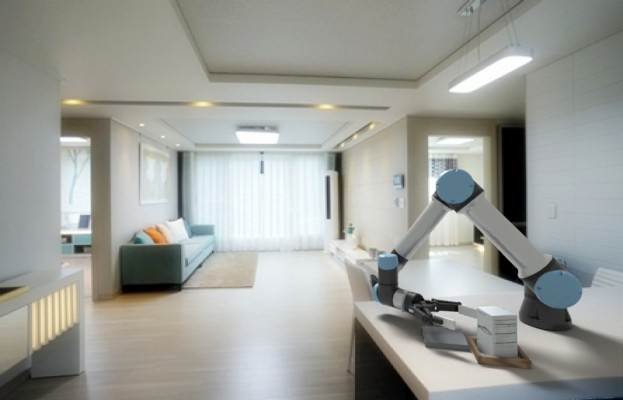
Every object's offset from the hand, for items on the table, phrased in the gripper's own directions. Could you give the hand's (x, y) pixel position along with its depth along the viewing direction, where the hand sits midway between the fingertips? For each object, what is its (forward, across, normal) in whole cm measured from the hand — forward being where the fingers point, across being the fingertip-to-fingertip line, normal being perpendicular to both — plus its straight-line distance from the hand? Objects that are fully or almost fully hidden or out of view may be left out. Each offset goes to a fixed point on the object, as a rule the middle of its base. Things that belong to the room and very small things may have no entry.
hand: (467, 319), depth 96 cm
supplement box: (+8, 0, -8) cm, 11 cm away
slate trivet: (-6, +3, -7) cm, 10 cm away
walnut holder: (+8, 0, -7) cm, 11 cm away
